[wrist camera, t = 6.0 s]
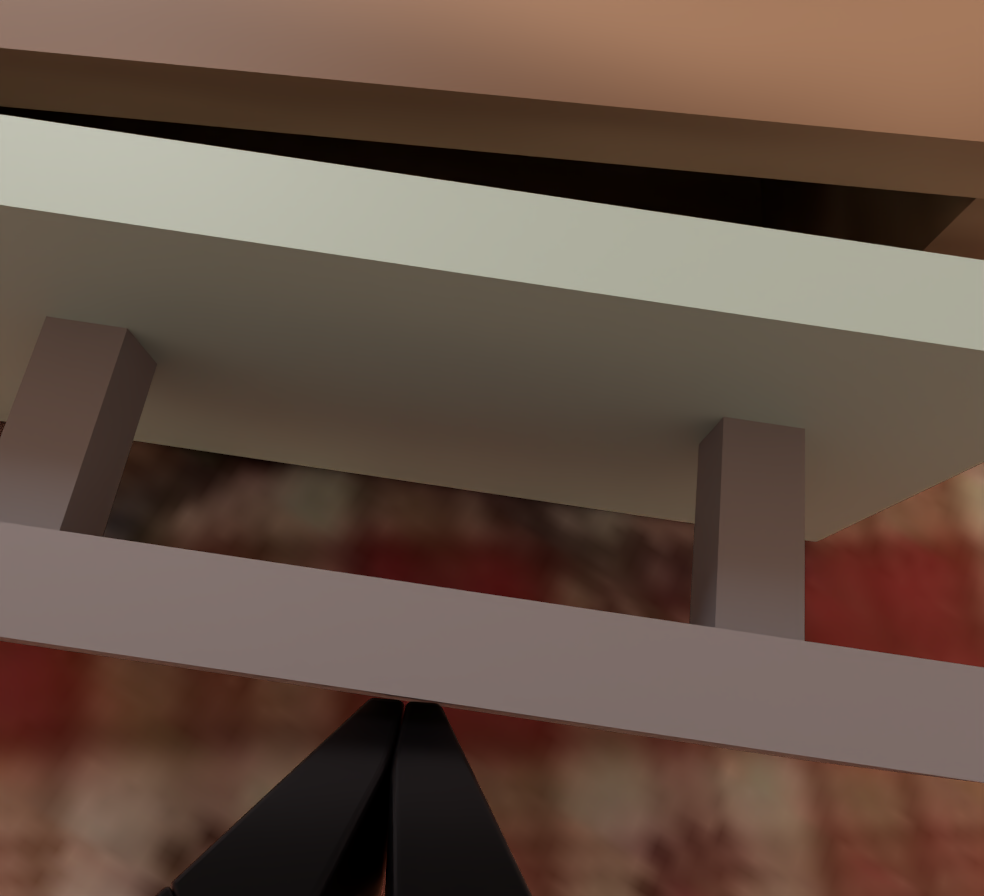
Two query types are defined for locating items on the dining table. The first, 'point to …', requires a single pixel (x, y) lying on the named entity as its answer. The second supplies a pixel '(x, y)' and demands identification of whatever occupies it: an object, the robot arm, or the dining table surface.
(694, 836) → the dining table surface
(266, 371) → the cabinet door
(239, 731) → the dining table surface
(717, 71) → the cabinet
